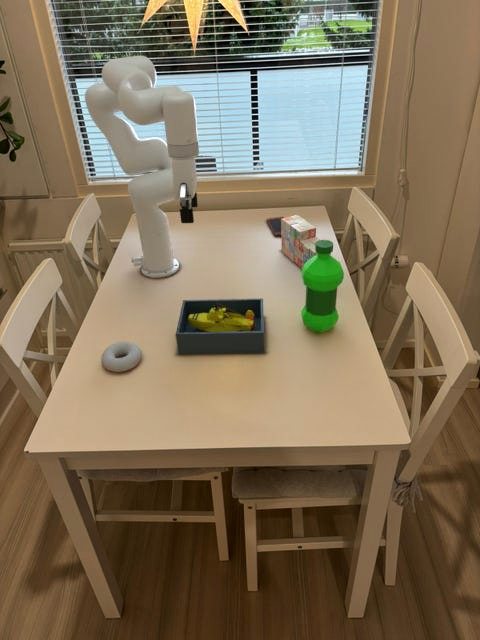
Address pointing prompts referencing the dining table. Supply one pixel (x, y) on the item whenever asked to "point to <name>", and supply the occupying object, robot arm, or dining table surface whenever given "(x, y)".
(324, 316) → the plastic bottle
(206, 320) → the yellow toy submarine
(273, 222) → the smartphone
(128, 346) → the donut
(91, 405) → the dining table surface
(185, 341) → the tote
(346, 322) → the dining table surface
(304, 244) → the stack of blocks
